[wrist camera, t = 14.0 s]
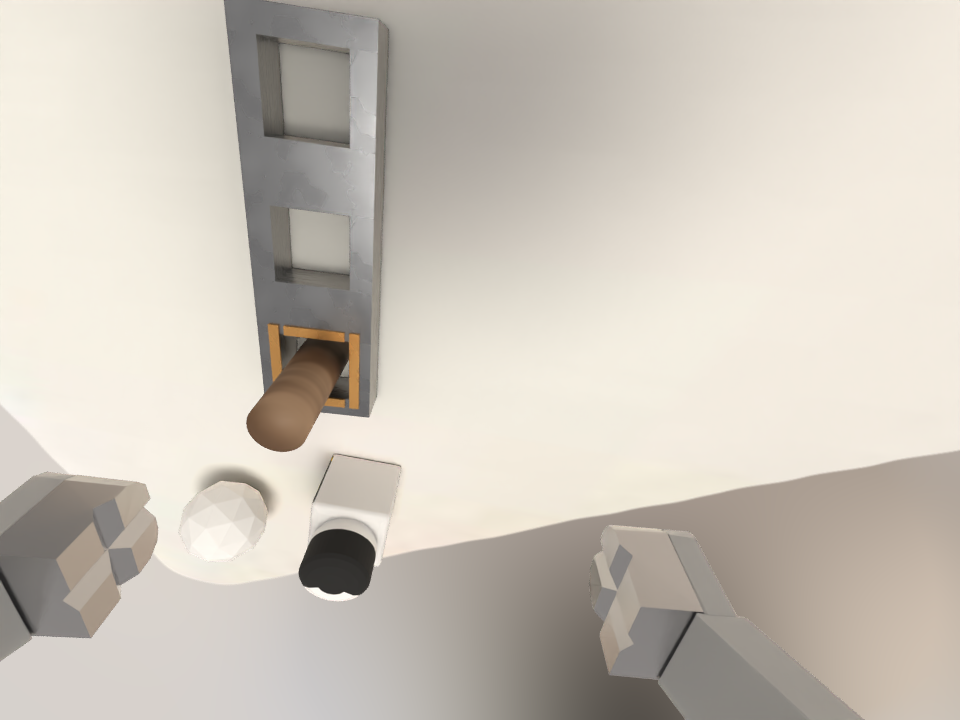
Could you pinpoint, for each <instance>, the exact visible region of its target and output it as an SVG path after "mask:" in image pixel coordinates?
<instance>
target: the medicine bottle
mask: <svg viewBox="0 0 960 720" xmlns="http://www.w3.org/2000/svg"><path fill="white" fill-rule="evenodd" d="M400 473H401V467H400V466H397V465H391V464H386V463H380V462H375V461H370V460H364V459H359V458H353V457H348V456H342V455H337V454H335V455H333V456H332V459H331V461H330V463H329V466H328V468H327V470H326V472H325V475H324V477H323V479H322V482H321V484H320V486H319V489H318V491H317V493H316V496H315V498H314V500H313V502H312V508H311V518H310V528H309V538H308V548H307V550H306V553H305V555H304V558H303V560H302V563H301V565H300V568H299V577H300V580H301V582H302V584H303V586H304V587H305V588H306V589H307V590H308V591H309V592H310V593H311V594H313V595H315V596H317V597H319V598H322V599H326V600H330V601H346V600H350V599H353V598H356V597H357V596H359V595H360V594H362V593H363V592H364V591H365V590H366V589H367V588H368V586H369V583H370V580H371V575H372V571H373V567H374V566H376V567H377V566H379V565H380V564H381V560H382V556H383V551H384V547H385V542H386V538H387V533H388V529H389V524H390V520H391V515H392V510H393V506H394V501H395V496H396V492H397V487H398V482H399V477H400Z"/></svg>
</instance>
